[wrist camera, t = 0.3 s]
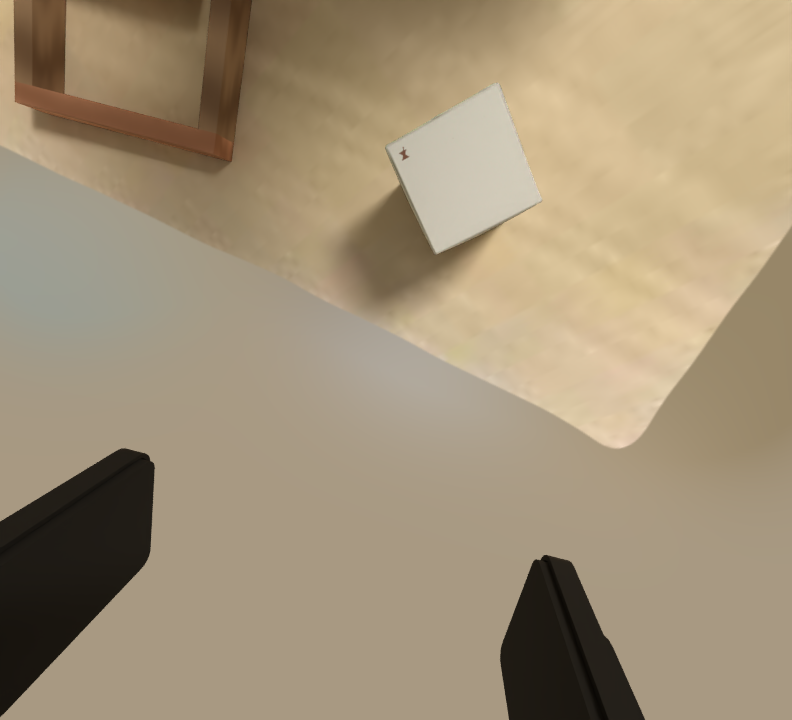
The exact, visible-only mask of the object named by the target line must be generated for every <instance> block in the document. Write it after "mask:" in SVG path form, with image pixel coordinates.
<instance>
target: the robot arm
mask: <svg viewBox="0 0 792 720" xmlns="http://www.w3.org/2000/svg"><path fill="white" fill-rule="evenodd" d="M154 469H155V467H154V463H153V462H151V461H150V458H149V456H148V455H147V454H145V453H141V452H137V451H133V450H129V449H120V450H118V451H116V452H114V453H112V454H111V455H109V456H107V457H106V458H104V459H102V460H101V461H99V462H97V463H96V464H94V465H93V466H91V467H89V468H88V469H86V470H84V471H83V472H81V473H79V474H78V475H76V476H74V477H73V478H71V479H70V480H68V481H66V482H65V483H63V484H61V485H60V486H58V487H57V488H55V489H53V490H52V491H50V492H48V493H46V494H45V495H43V496H42V497H40V498H39V499H37V500H35V501H33V502H32V503H30V504H28V505H27V506H25V507H24V508H22V509H20V510H19V511H17V512H15V513H14V514H12V515H10V516H9V517H7V518H5V519H4V520H2V521H0V717H1V715H3V714H4V713H5V712H6V711H7V710H8V709H9V708H10V707H11V706H12V705H13V703H14V702H15V701H16V700H17V699H18V698H19V697H20V696H21V695H22V694H23V693H24V692H25V691H26V690H27V688H29V687H30V685H31V684H32V683H33V682H34V681H35V680H36V679H37V678H38V677H39V676H40V675H41V674H42V673H43V672H44V671H45V669H47V667H49V665H50V664H51V663H52V662H53V661H54V660H55V659H56V658H57V657H58V656H59V655H60V654H61V653H62V652H63V651H64V650H65V649H66V648H67V646H68V645H69V644H70V643H71V642H72V641H73V640H74V639H75V638H76V637H77V636H78V635H79V634H80V632H81V631H83V630H84V629H85V627H86V626H87V625H88V624H89V623H90V622H91V621H92V620H93V619H94V618H95V617H96V616H97V615H98V614H99V613H100V612H101V611H102V609H104V607H105V606H106V605H107V604H108V603H109V602H110V601H111V600H112V599H113V598H114V597H115V595H117V594H118V593H119V592H120V590H122V588H123V587H124V586H125V585H126V584H127V583H128V582H129V581H130V580H131V579H132V578H133V577H134V576H135V575H136V574H137V573H138V572H139V571H140V569H141V568H142V567H143V566H144V565H145V563H146V561H147V559H148V557H149V554H150V547H151V527H152V508H153V507H152V506H153V488H154ZM500 661H501V669H502V676H503V682H504V689H505V695H506V702H507V708H508V715H509V720H645V719H644V716H643V714H642V712H641V710H640V707H639V705H638V703H637V700H636V698H635V696H634V694H633V692H632V689H631V687H630V685H629V682H628V680H627V678H626V676H625V673H624V671H623V669H622V667H621V665H620V662H619V660H618V658H617V656H616V653H615V651H614V649H613V647H612V645H611V644H610V641H609V640H608V639H607V638H606V637H605V636H604V635H603V632H602V630H601V628H600V626H599V624H598V621H597V619H596V617H595V614H594V612H593V609H592V607H591V605H590V603H589V600H588V598H587V596H586V593H585V591H584V589H583V586H582V584H581V582H580V580H579V578H578V575H577V573H576V570H575V568H574V566H573V564H572V563H571V562H570V561H568V560H564V559H560V558H556V557H552V556H548V555H544V556H543V557H542V558H541V560H534V561H533V563H532V566H531V569H530V571H529V574H528V577H527V579H526V582H525V584H524V587H523V590H522V593H521V595H520V598H519V600H518V603H517V606H516V608H515V611H514V614H513V616H512V619H511V622H510V625H509V627H508V630H507V632H506V635H505V638H504V640H503V643H502V647H501V654H500Z"/></svg>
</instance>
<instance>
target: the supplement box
mask: <svg viewBox="0 0 792 720" xmlns="http://www.w3.org/2000/svg"><path fill="white" fill-rule="evenodd" d="M385 149H386V152H387V154H388V156H389V159H390V161H391V163H392V166H393V168H394V170H395V173H396V175H397V177H398V180H399V182H400V184H401V186H402V189H403V191H404V193H405V195H406V197H407V200H408V202H409V204H410V206H411V208H412V210H413V213H414V215H415V217H416V219H417V221H418V223H419V225H420V227H421V229H422V231H423V233H424V235H425V237H426V239H427V241H428V243H429V245H430V247H431V249H432V251H433V253H434V254H435V255H437V254H439V253H442V252H444V251H446V250H448V249H451V248H453V247H455V246H458V245H460V244H462V243H464V242H466V241H469V240H471V239H473V238H475V237H477V236H479V235H481V234H483V233H485V232H487V231H489V230H491V229H493V228H495V227H497V226H499V225H500V224H502V223H504V222H506V221H508V220H510V219H512V218H514V217H515V216H517V215H519V214H521V213H523V212H524V211H526V210H528V209H530V208H531V207H533V206H535V205H537V204H539V203H540V202H542V198H541V196H540V193H539V191H538V188H537V185H536V183H535V180H534V178H533V175H532V173H531V170H530V167H529V164H528V162H527V159H526V156H525V153H524V150H523V148H522V145H521V142H520V139H519V136H518V134H517V131H516V128H515V125H514V123H513V120H512V117H511V114H510V111H509V109H508V106H507V103H506V100H505V98H504V95H503V92H502V89H501V86H500V84H499V83H493V84H492V85H490V86H488V87H486V88H485V89H483V90H481V91H479V92H478V93H476V94H474V95H473V96H471V97H469V98H468V99H466V100H464V101H462V102H461V103H459V104H457V105H455V106H454V107H452V108H450V109H449V110H447V111H445V112H443V113H441V114H439V115H437V116H435V117H434V118H432V119H431V120H430V121H428V122H426V123H424V124H423V125H421V126H419V127H418V128H416V129H414V130H412V131H411V132H409V133H407V134H405V135H404V136H402V137H400V138H398V139H397V140H395V141H393V142H391V143H389V144H387V145H386V146H385Z"/></svg>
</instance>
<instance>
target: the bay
mask: <svg viewBox="0 0 792 720" xmlns="http://www.w3.org/2000/svg"><path fill="white" fill-rule="evenodd" d="M251 2H252V0H211V8H210V17H209V27H208V37H207V47H206V56H205V66H204V76H203V86H202V96H201V105H200V115H199V125H198V129H197V128H193V127H189V126H185V125H182V124H178V123H174V122H170V121H166V120H162V119H158V118H155V117H151V116H147V115H143V114H139V113H135V112H131V111H128V110H124V109H120V108H116V107H112V106H108V105H105V104H101V103H97V102H93V101H89V100H85V99H81V98H78V97H74V96H70V95H66V94H64V72H65V16H66V0H14V51H15V102H17V103H20V104H22V105H25V106H28V107H31V108H33V109H36V110H39V111H42V112H44V113H47V114H51V115H55V116H59V117H62V118H66V119H70V120H74V121H78V122H81V123H85V124H89V125H93V126H97V127H101V128H104V129H108V130H112V131H116V132H120V133H123V134H127V135H131V136H135V137H139V138H143V139H146V140H150V141H154V142H158V143H162V144H165V145H169V146H173V147H177V148H181V149H185V150H188V151H192V152H196V153H200V154H204V155H207V156H211V157H215V158H219V159H223V160H227V161H230V162H231V161H232V153H233V145H234V137H235V129H236V121H237V113H238V105H239V97H240V89H241V81H242V73H243V65H244V57H245V50H246V42H247V34H248V26H249V18H250V10H251Z"/></svg>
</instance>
